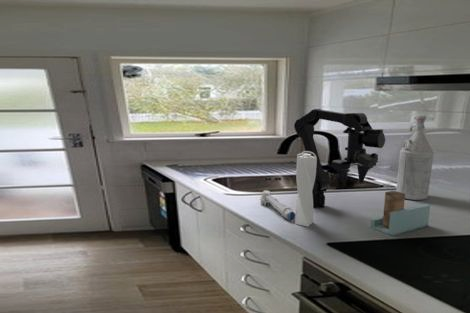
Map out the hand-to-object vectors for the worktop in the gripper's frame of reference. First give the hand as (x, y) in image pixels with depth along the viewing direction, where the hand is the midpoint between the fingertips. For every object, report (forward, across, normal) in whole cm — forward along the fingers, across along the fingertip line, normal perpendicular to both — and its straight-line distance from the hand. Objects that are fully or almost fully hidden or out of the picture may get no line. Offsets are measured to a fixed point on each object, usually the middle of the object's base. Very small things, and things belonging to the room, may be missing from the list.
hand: (352, 184), depth 130 cm
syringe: (+14, -23, +19) cm, 33 cm away
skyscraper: (+13, -22, +2) cm, 26 cm away
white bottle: (+13, +47, +6) cm, 49 cm away
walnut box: (+12, +2, -17) cm, 21 cm away
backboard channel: (+13, +7, -17) cm, 22 cm away
